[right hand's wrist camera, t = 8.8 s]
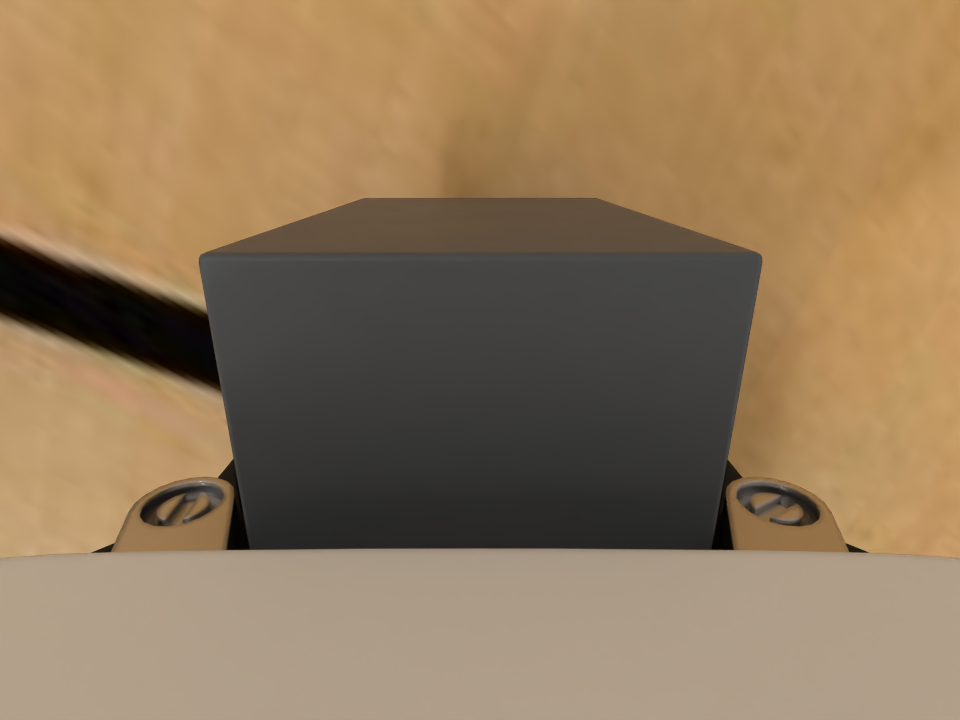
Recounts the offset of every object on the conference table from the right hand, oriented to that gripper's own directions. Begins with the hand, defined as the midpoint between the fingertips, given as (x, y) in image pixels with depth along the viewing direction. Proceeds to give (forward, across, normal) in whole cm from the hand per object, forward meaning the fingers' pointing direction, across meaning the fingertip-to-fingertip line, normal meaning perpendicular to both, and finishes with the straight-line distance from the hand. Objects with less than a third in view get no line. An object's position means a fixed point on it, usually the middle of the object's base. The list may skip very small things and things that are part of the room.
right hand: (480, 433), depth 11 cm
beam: (+3, 0, +30) cm, 30 cm away
